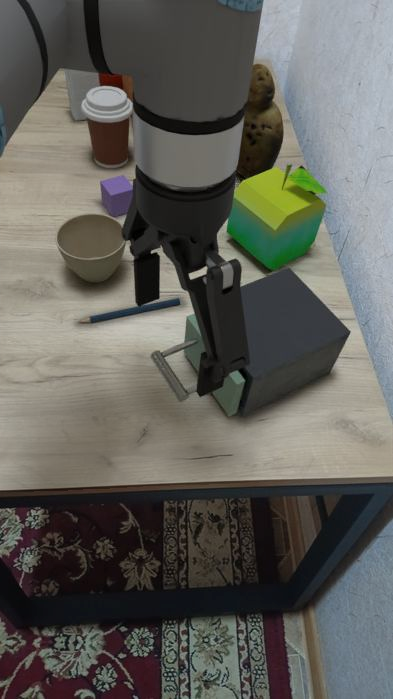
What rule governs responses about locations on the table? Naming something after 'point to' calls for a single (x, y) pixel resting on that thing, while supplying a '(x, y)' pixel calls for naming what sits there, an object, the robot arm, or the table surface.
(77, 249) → the flower pot
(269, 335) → the charcoal drawer box
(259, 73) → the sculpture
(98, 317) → the pencil
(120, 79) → the fruit
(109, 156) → the coffee cup
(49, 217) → the table surface
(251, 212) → the apple
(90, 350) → the table surface
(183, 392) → the green drawer
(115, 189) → the purple cube
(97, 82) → the cosmetic box
